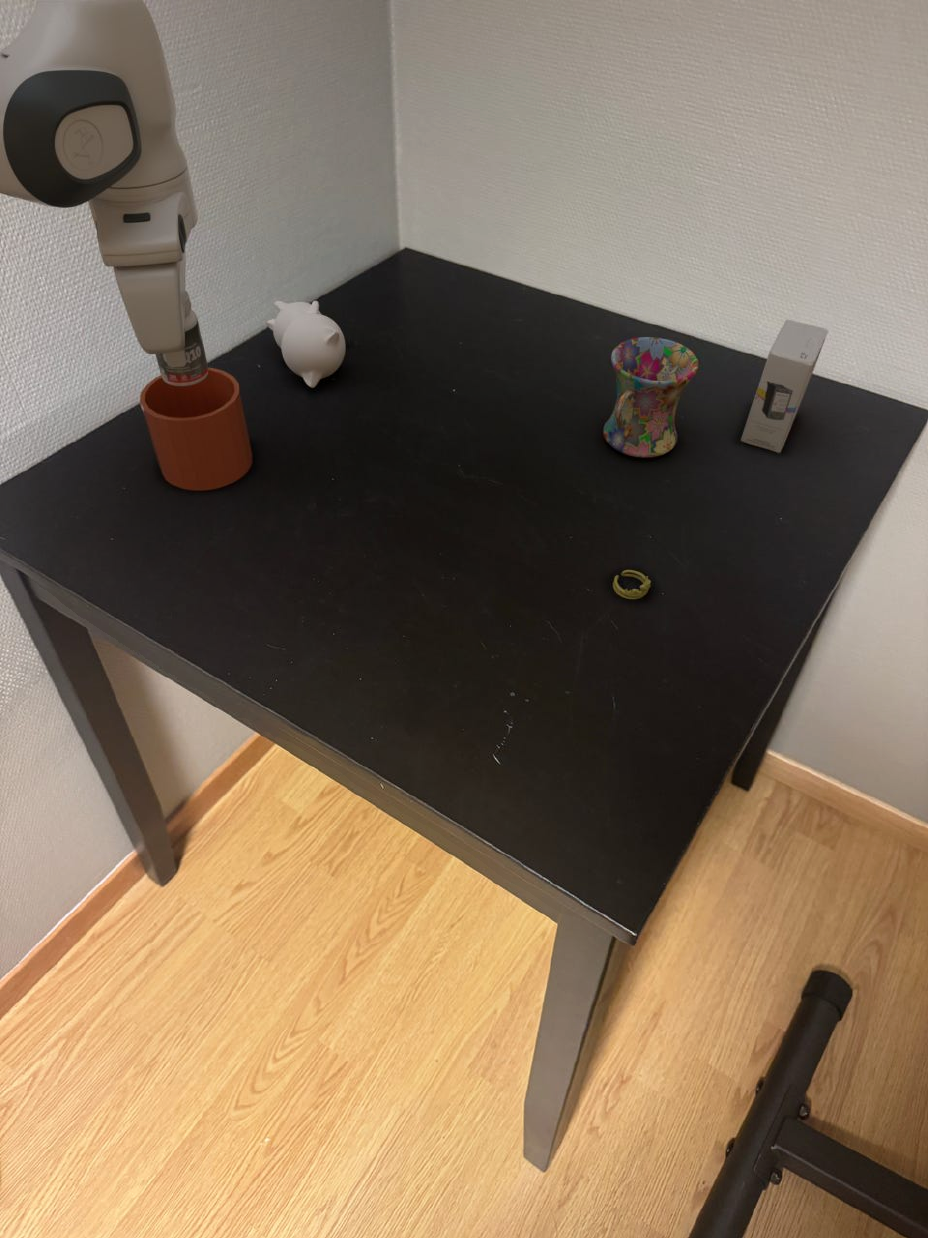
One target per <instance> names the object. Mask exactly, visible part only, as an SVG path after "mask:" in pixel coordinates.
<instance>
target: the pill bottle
mask: <svg viewBox="0 0 928 1238" xmlns="http://www.w3.org/2000/svg"><path fill="white" fill-rule="evenodd" d="M203 341H204V340H203V336H202V331H201V328H200V323H199V319H198V315H197V314H196V312H195V311H194V310H193V309H192V302H191V299H190V295H189V292H188V291H186V290H185V352H186V365H185V366H183V367H173V368H172V367H169V366H168V365H167V362H166V358H165V354H164V353H162V354H155V358H156V361H157V365H158V369H159V373H160V375H161V377H162V379H163V380H164V381H165V382H166V383H168V384H170V385H174V386H188V385H193V384H196V383H199V382H201V381H202V380H204V379H205V378H206V376H207V374H208V367H209V365H208V360H207V356H206V351H205V346H204V342H203Z"/></svg>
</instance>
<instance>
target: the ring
mask: <svg viewBox="0 0 928 1238" xmlns="http://www.w3.org/2000/svg"><path fill="white" fill-rule="evenodd" d="M620 575H621V577H632V578H635V579H637V580H639V581H641V583H642V584H641V585H639V589H636V588H633V589H630V590H628V588H625V589H623V588H622V587H621V586H620V584H619V583H618V580H619V578H620ZM620 575H615V576H614V579H613V582H612V588H613V590H614V592H615V593H616V594H617V595H618V596H620V597H622V598H624V599H626V600H627V599H628V600H637V599H642V598H643V597H644V596H645V595H646V594H647V593H648V591H649V589H650V588H651V581H652V580H651V579H649V576H648V575H647V576H645V574H643V573H642V572H640V571H636V570H632V569H625V570H623V571H622V572H621V573H620Z"/></svg>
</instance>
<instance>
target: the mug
mask: <svg viewBox="0 0 928 1238" xmlns="http://www.w3.org/2000/svg"><path fill="white" fill-rule="evenodd" d="M610 360H611V364H612V367H613V370H614V374H615V380H616V381H615V382H616V398H615V399H616V400H615V404H614V408H613V411H612V413H611V415H610V417H609V418H608V419H607V421H606V422H605V423H604V426H603V428H602V429H603V431H602V433H603V437H604V439H605V441H606V442H607V445H609V446H610V447H611V448H612V449H614V450H616V451H618V452H619V453H621V454H624V455H627V456H629V457H635V458H655V457H660V456H663V455H665V454H667V453H669V452H670V451H671V450H673V449H674V447H675V446H676V444H677V442H678V433H677V430H676V426H675V418H676V417H675V416H676V410H677V408H678V407H677V406H678V403H679V401H680V398H681V396H682V394H683V392H684V391H685V389H686V387H687V386H688V384H689V383H690V381H691V380H692V378H694V376H696V374H697V372H698V370H699V359H698V358H697V356H696V354H694V352H693V351H692V350H690V349H689V348H688V347H687V346H684V345H683V344H681V343H679V342H676V341H674V340H671V339H666V338H663V337H662V338H661V337H653V336H645V337H643V336H641V337H634V338H630V339H627V340H625V341H623V342H621V343H619V344H618V345H616V346H615V347H614V349H613V350H612V352H611V355H610Z"/></svg>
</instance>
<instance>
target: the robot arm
mask: <svg viewBox="0 0 928 1238" xmlns="http://www.w3.org/2000/svg"><path fill="white" fill-rule="evenodd" d="M156 27H157V26H156V25H155V22H154V19H153V17H152V14H151V13H150V11H149V9H148V6H147V5H146V3H145V2H144V0H36V3H35V6H34V9H33V11H32V13H31V15H30V17H29V19H28V21H27V23H25V26H24V27H23V29H22V30H21V31H20V33H18V35H17V36H16V38H15V39H13V40H12V41H11V42H10V43H9V45H7V46H5V47H4V48H2V49H1V50H0V194H1V195H5V196H9V197H12V198H15V199H19V200H23V201H27V202H30V203H33V204H36V205H37V204H38V205H41V206H45V207H49V208H50V207H51V208H60V209H69V208H75V207H80V206H82V205H84V204H86V203H88V206H89V210H90V214H91V217H92V221H93V224H94V228H95V230H96V238H97V243H98V249H99V252H100V256H101V259H102V260H101V261H102V263H103V264H104V266H106V267H107V268H109V267H110V268H112V267H113V273H114V277H115V281H116V284H117V289H118V291H119V294H120V297H121V299H122V303H123V305H124V308H125V310H126V313H127V316H128V319H129V322H130V324H131V328H132V330H133V332H134V335H135V337H136V340H137V343H138V344H139V346H140V347H141V349H142V350H143V351H144V353H146V354H148V355H156V354H162V353H164V354H165V358H166V362H167V365H168V366H169V367H172V368H173V367H183V366H185V365H186V352H185V291H186V272H187V271H186V269H187V268H186V267H187V266H186V264H187V262H186V261H187V256H186V244H187V243H188V240H189V237H190V235H191V232H192V230H193V229H194V228H195V226H196V225H197V223H198V220H199V215H198V211H197V206H196V200H195V195H194V192H193V186H192V181H191V177H190V171H189V165H188V162H187V158H186V155H185V152H184V151H183V149H182V147H181V145H180V142H179V139H178V135H177V131H176V117H177V110H176V109H177V108H176V102H175V101H176V100H175V97H174V91H173V87H172V84H171V83H172V82H171V78H170V74H169V68H168V64H167V60H166V57H165V53H164V49H163V46H162V43H161V39H160V36H159V33H158V30H157V28H156Z"/></svg>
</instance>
